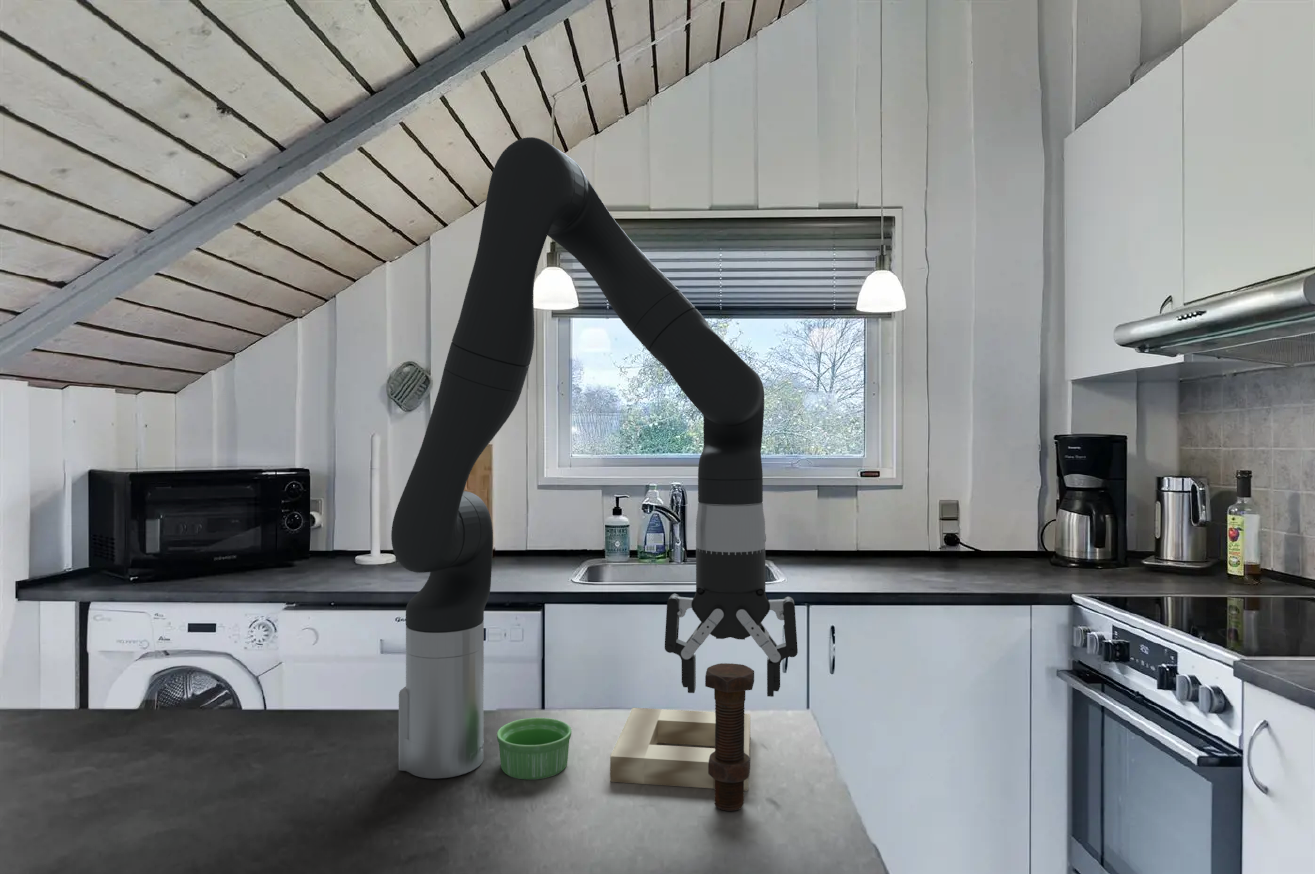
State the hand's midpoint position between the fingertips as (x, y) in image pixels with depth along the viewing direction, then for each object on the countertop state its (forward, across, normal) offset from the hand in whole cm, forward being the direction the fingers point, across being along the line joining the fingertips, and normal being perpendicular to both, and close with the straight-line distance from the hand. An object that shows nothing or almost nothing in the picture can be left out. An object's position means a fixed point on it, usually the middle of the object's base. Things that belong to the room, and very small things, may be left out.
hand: (731, 692), depth 86 cm
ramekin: (+13, -24, +7) cm, 28 cm away
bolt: (+13, 0, 0) cm, 13 cm away
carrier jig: (+12, -6, +12) cm, 19 cm away
